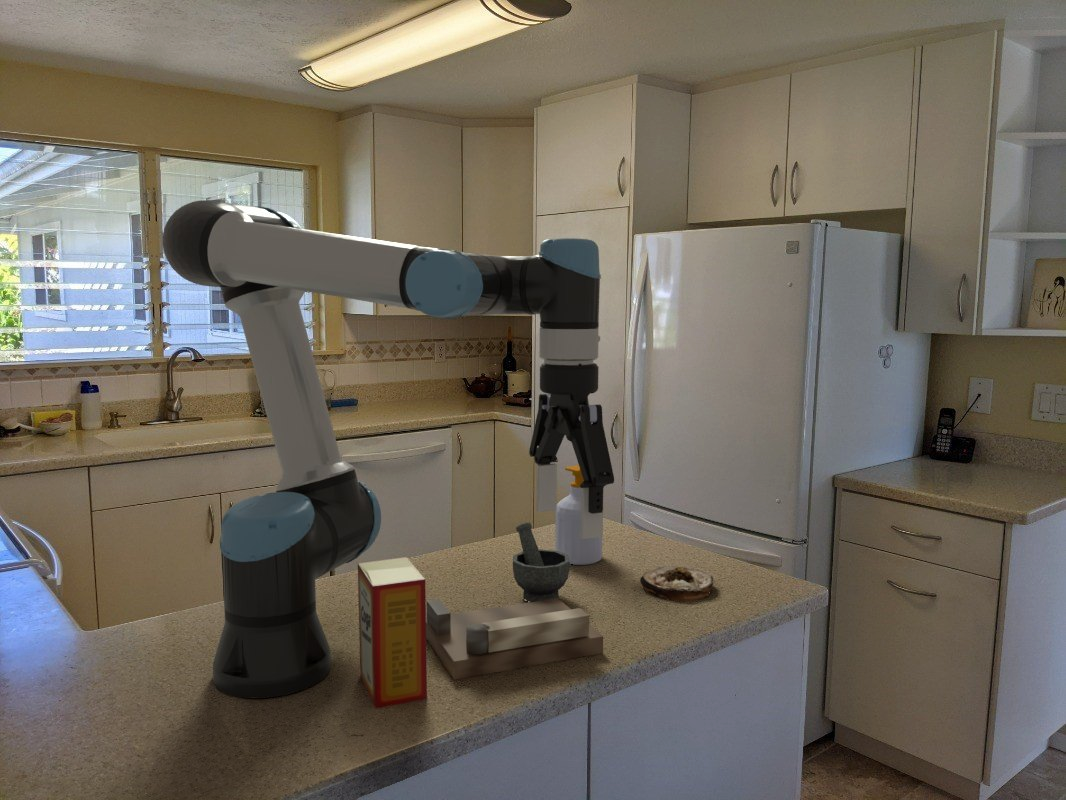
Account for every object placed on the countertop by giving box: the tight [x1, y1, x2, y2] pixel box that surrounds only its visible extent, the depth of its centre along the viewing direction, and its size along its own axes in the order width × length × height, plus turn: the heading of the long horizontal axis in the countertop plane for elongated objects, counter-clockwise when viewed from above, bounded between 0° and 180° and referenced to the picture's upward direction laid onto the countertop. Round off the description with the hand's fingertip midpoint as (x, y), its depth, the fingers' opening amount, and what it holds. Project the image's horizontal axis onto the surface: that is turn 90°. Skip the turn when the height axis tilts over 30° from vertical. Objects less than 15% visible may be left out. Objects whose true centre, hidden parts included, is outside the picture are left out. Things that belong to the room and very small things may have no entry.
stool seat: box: [426, 598, 604, 680], centre depth 121 cm, size 22×16×6 cm
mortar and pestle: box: [512, 522, 571, 602], centre depth 139 cm, size 11×9×12 cm
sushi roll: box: [640, 565, 714, 602], centre depth 144 cm, size 15×15×4 cm
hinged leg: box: [466, 607, 590, 654], centre depth 115 cm, size 18×3×3 cm, turn 112°
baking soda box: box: [357, 556, 428, 709], centre depth 107 cm, size 10×6×16 cm
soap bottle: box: [554, 464, 603, 566], centre depth 159 cm, size 9×9×25 cm
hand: (567, 523), depth 109 cm, fingers open, 13 cm apart
